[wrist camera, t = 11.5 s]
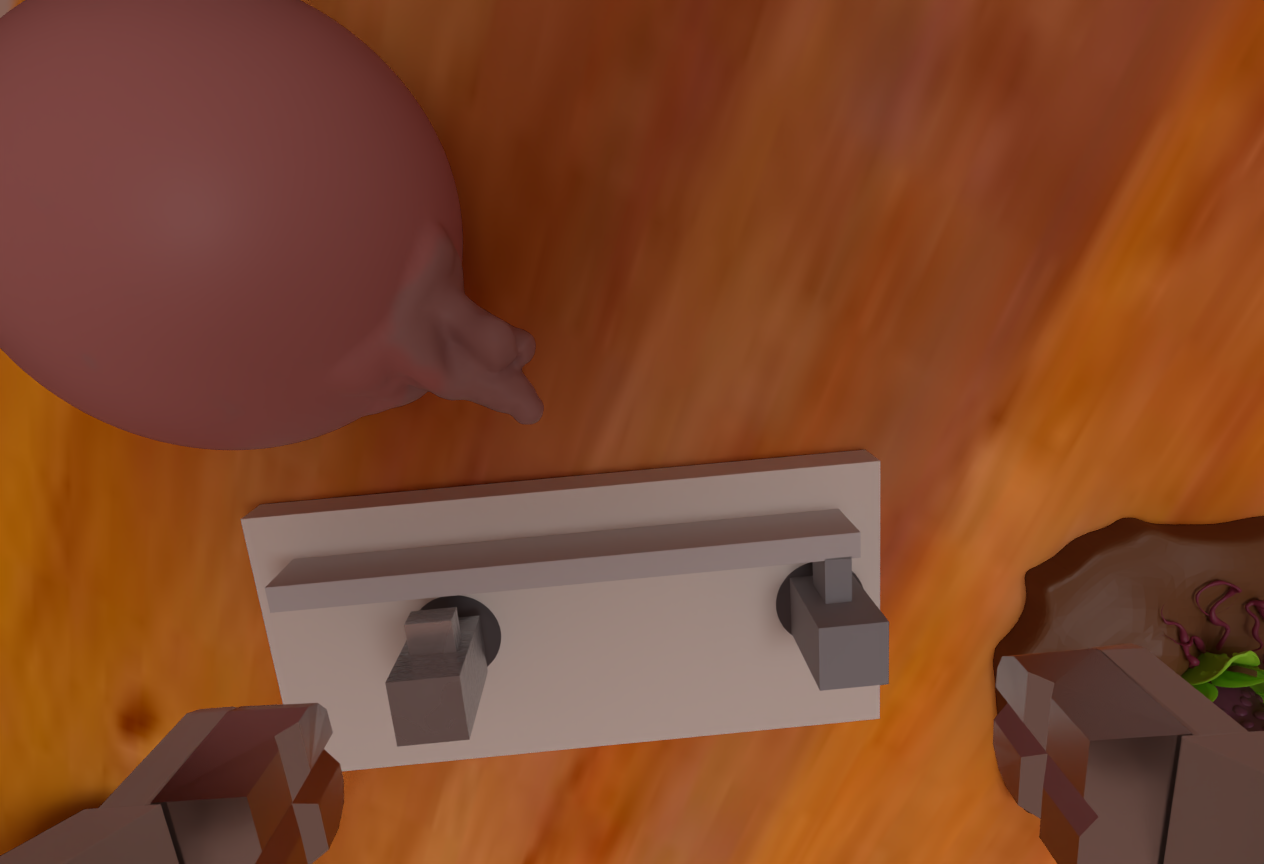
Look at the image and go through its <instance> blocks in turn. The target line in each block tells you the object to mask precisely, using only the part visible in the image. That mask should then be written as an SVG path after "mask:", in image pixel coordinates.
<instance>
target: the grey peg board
mask: <svg viewBox="0 0 1264 864" xmlns="http://www.w3.org/2000/svg"><path fill="white" fill-rule="evenodd" d="M241 523H242V527H243V532H244V536H245V541H246V545H247V549H248V554H249V558H250V562H251V567H252V571H253V575H254V580H255V584H256V588H257V593H258V597H259V601H260V606H261V610H262V615H263V619H264V623H265V628H266V632H267V636H268V641H269V645H270V649H271V654H272V658H273V662H274V667H275V671H276V675H277V680H278V684H279V689H280V693H281V697H282V702H283V704H303V703H319V704H320V705H321V706H323V707H324V708H326V709H327V712H328V716H329V720H330V723H331V727H332V731H333V733H332V735H331V737H330V739H329V741H328V742H327V744H326V746H325V748H324V749H325V750H326V751H327V752H328V753H329V754H330V755H331V756H332V757H333V758H334V759H335V760H337V761H338V762H339V763H340V766H341V771H350V770H360V769H370V768H381V767H391V766H401V765H411V764H421V763H432V762H442V761H452V760H462V759H472V758H483V757H493V756H503V755H513V754H524V753H534V752H544V751H554V750H564V749H575V748H585V747H595V746H605V745H615V744H626V743H636V742H646V741H656V740H666V739H677V738H687V737H697V736H707V735H718V734H728V733H738V732H748V731H758V730H769V729H779V728H789V727H799V726H809V725H820V724H830V723H840V722H850V721H860V720H871V719H880V685H884V684H889V621H888V620H887V619H886V617H885V616H884V615H883V613H882V612H881V611H880V460H878V459H877V458H876V457H874V456H873V455H872V454H870V453H869V452H868V451H867V450H856V451H845V452H834V453H823V454H812V455H801V456H790V457H779V458H768V459H757V460H746V461H735V462H724V463H713V464H702V465H691V466H680V467H669V468H658V469H647V470H636V471H625V472H614V473H603V474H592V475H581V476H570V477H559V478H548V479H537V480H526V481H515V482H504V483H493V484H482V485H471V486H460V487H448V488H437V489H426V490H415V491H404V492H393V493H382V494H371V495H360V496H349V497H338V498H327V499H316V500H305V501H294V502H283V503H272V504H261V505H259V506H258V507H256V508H255V509H254V510H252V511H251V512H250V513H248V514H247V515H246V516H244V517H243V518H242V519H241ZM451 607H457V612H458V618H459V617H470V616H480V622H481V629H482V636H483V642H484V649H485V656H486V662H487V669H488V673H487V677H486V681H485V684H484V688H483V692H482V695H481V699H480V703H479V706H478V710H477V714H476V718H475V721H474V725H473V729H472V732H471V736H470V740H461V741H450V742H440V743H430V744H420V745H409V746H399V747H397V743H396V738H395V732H394V727H393V722H392V716H391V711H390V706H389V701H388V695H387V690H386V685H385V682H386V680H387V678H388V676H389V674H390V672H391V670H392V668H393V666H394V664H395V662H396V660H397V658H398V656H399V654H400V652H401V650H402V648H403V646H404V644H405V642H406V640H407V639H406V633H405V627H404V624H405V622H406V620H407V618H408V616H409V615H410V613H411V611H419V610H430V609H440V608H451Z"/></svg>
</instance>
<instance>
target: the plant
mask: <svg viewBox="0 0 1264 864" xmlns="http://www.w3.org/2000/svg"><path fill="white" fill-rule="evenodd" d="M1025 586H1026V603H1025V607H1024V610H1023V612H1022V614H1021V616H1020V618H1019V620H1018V622H1017V623H1016V625H1015V626H1014V628H1013V629H1012V630H1011V631H1010V632H1009V633H1008V634H1007V635H1006V636H1005V637H1004V638H1003V639H1002V640H1001V641H1000V642H999V644H998V645H997V647H996V649H995V653H994V660H993V667H994V675H995V687H996V678H997V668H998V665H999V663H1000V661H1001V658H1002V656H1012V655H1024V654H1036V653H1047V652H1059V651H1071V650H1082V649H1088V648H1094V647H1104V646H1114V645H1123V644H1135V645H1138V646H1141V647H1144V648H1146V649H1147V650H1149V651H1150V652H1151V653H1152V654H1154V655H1155V656H1156V657H1157V658H1158V659H1160V660H1161V661H1162V662H1163V663H1165V664H1166V665H1167V666H1168V667H1170V668H1171V669H1172V670H1173V671H1174V672H1176V673H1177V674H1178V675H1179V676H1181V677H1182V678H1183V679H1184V680H1186V681H1187V682H1188V683H1189V684H1191V685H1192V686H1193V687H1194V688H1195V689H1197V690H1198V691H1199V692H1200V693H1202V694H1203V695H1204V696H1205V697H1207V698H1208V699H1209V700H1210V701H1211V702H1213V703H1214V704H1215V705H1216V706H1218V707H1219V708H1220V709H1221V710H1223V711H1224V712H1225V713H1226V714H1227V715H1229V716H1230V717H1231V718H1232V719H1234V720H1235V721H1236V722H1237V723H1239V724H1240V725H1241V726H1242V727H1244V728H1245V729H1246V730H1247V731H1248V732H1254V731H1264V516H1258V517H1252V518H1246V519H1240V520H1236V521H1231V522H1226V523H1218V524H1204V525H1170V524H1152V523H1147V522H1144V521H1141V520H1139V519H1135V518H1123V519H1119V520H1117V521H1116V522H1114V523H1113V524H1111V525H1109V526H1107V527H1105V528H1102V529H1099V530H1096V531H1093V532H1090V533H1087V534H1085V535H1082V536H1080V537H1078V538H1076V539H1074V540H1073V541H1071V542H1070V543H1069V544H1067V545H1066V546H1065V547H1064V548H1063V549H1062V550H1061V551H1060V552H1058V553H1057V554H1056V555H1055V556H1053V557H1052V558H1051V559H1049V560H1047V561H1045V562H1043V563H1042V564H1040V565H1038V566H1036V567H1034V568H1032V569H1030V570H1028V571H1027V572H1026V574H1025ZM996 703H997V714H999V713H1000V712H1001V710H1002V709H1003V708H1004V707H1005V705H1006V704H1007V703H1008V702H1007V701H1006V700H1005V698H1004V697H1003V696H1002V694H1001V693H1000V692H999V691H998V689H997V688H996ZM1024 810H1025V809H1024ZM1025 811H1027V810H1025ZM1027 812H1028V813H1030V812H1029V811H1027ZM1031 814H1032V813H1031Z"/></svg>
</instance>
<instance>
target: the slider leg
mask: <svg viewBox="0 0 1264 864" xmlns="http://www.w3.org/2000/svg"><path fill="white" fill-rule="evenodd" d="M404 627H405V633H406V639H407V640H406V642H405V644H404V646H403V648H402V650H401V652H400V654H399V656H398V658H397V660H396V662H395V664H394V666H393V668H392V670H391V672H390V674H389V676H388V678H387V680H386V682H385V685H386V690H387V695H388V701H389V706H390V711H391V716H392V722H393V727H394V732H395V738H396V743H397V747H399V746H409V745H420V744H430V743H440V742H450V741H461V740H470V736H471V732H472V729H473V725H474V721H475V718H476V714H477V710H478V706H479V703H480V699H481V695H482V692H483V688H484V684H485V681H486V677H487V673H488V669H487V662H486V656H485V649H484V642H483V636H482V629H481V622H480V616H470V617H459V618H458V612H457V607H451V608H440V609H430V610H419V611H411V613H410V615H409V616H408V618H407V620H406V622H405V624H404Z"/></svg>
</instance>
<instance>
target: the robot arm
mask: <svg viewBox="0 0 1264 864" xmlns="http://www.w3.org/2000/svg"><path fill="white" fill-rule="evenodd" d="M996 688H997V689H998V691H999V692H1000V693H1001V694H1002V696H1003V697H1004V698H1005V700H1006V701H1007V702H1008V703H1007V704H1006V705H1005V707H1004V708H1003V709H1002V710H1001V712H1000V713H999V714H998V715H997V716H996V718H995V719H994V735H993V745H994V750H995V755H996V759H997V764H998V768H999V771H1000V773H1001V776H1002V778H1003V780H1004V782H1005V785H1006V787H1007V789H1008V790H1009V792H1010V793H1011V795H1012V796H1013V798H1014V800H1015V801H1016V803H1017V804H1018V805H1019V806H1021V807H1022V808H1024V809H1025V810H1027V811H1029V812H1030V813H1032V814H1034V815H1035V816H1037V817H1039V818H1040V819H1041V821H1040V834H1039V837H1040V839H1041V840H1042V842H1043V843H1044V845H1045V846H1046V848H1047V849H1048V851H1049V852H1050V854H1051V855H1052V857H1053V858H1054V859H1055V861H1056V862H1057V864H1264V731H1254V732H1248V731H1247V730H1246V729H1245V728H1244V727H1242V726H1241V725H1240V724H1239V723H1237V722H1236V721H1235V720H1234V719H1232V718H1231V717H1230V716H1229V715H1227V714H1226V713H1225V712H1224V711H1223V710H1221V709H1220V708H1219V707H1218V706H1216V705H1215V704H1214V703H1213V702H1211V701H1210V700H1209V699H1208V698H1207V697H1205V696H1204V695H1203V694H1202V693H1200V692H1199V691H1198V690H1197V689H1195V688H1194V687H1193V686H1192V685H1191V684H1189V683H1188V682H1187V681H1186V680H1184V679H1183V678H1182V677H1181V676H1179V675H1178V674H1177V673H1176V672H1174V671H1173V670H1172V669H1171V668H1170V667H1168V666H1167V665H1166V664H1165V663H1163V662H1162V661H1161V660H1160V659H1158V658H1157V657H1156V656H1155V655H1154V654H1152V653H1151V652H1150V651H1149V650H1147V649H1146V648H1144V647H1141V646H1138V645H1135V644H1123V645H1114V646H1104V647H1094V648H1088V649H1082V650H1071V651H1059V652H1047V653H1036V654H1024V655H1012V656H1002V658H1001V661H1000V663H999V665H998V668H997V678H996ZM332 733H333V731H332V727H331V723H330V720H329V716H328V712H327V709H326V708H324V707H323V706H321V705H320V704H319V703H303V704H282V705H261V706H240V707H237V708H236V707H222V708H209V709H199V710H196V711H193V712H190V713H187V714H186V715H185V716H184V717H183V718H182V719H181V720H180V721H179V722H178V724H177V725H176V726H175V727H174V728H173V729H172V730H171V731H170V732H169V733H168V734H167V735H166V736H165V737H164V739H163V740H162V741H161V742H160V743H159V744H158V745H157V746H156V747H155V748H154V749H153V750H152V751H151V752H150V754H149V755H148V756H147V757H146V758H145V759H144V760H143V761H142V762H141V763H140V764H139V765H138V766H137V767H136V768H135V770H134V771H133V772H132V773H131V774H130V775H129V776H128V777H127V778H126V779H125V780H124V781H123V782H122V783H121V785H120V786H119V787H118V788H117V789H116V790H115V791H114V792H113V793H112V794H111V795H110V796H109V797H108V798H107V800H106V801H105V802H104V803H103V804H102V805H101V806H100V807H99V808H94V809H84V810H82V811H80V812H79V813H77V814H75V815H73V816H71V817H70V818H68V819H66V820H64V821H62V822H61V823H59V824H57V825H55V826H53V827H52V828H50V829H48V830H46V831H45V832H43V833H41V834H39V835H37V836H36V837H34V838H32V839H30V840H28V841H27V842H25V843H23V844H21V845H19V846H18V847H16V848H14V849H12V850H10V851H9V852H7V853H5V854H3V855H2V856H0V864H312V863H313V862H314V861H315V860H316V859H318V858H319V857H320V856H321V855H323V854H324V853H325V852H326V851H328V850H329V848H330V846H331V844H332V842H333V840H334V837H335V835H336V833H337V831H338V829H339V825H340V820H341V815H342V810H343V805H344V780H343V775H342V771H341V766H340V763H339V762H338V761H337V760H335V759H334V758H333V757H332V756H331V755H330V754H329V753H328V752H327V751H326V750H325V749H324V748H325V746H326V744H327V742H328V741H329V739H330V737H331V735H332Z"/></svg>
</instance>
